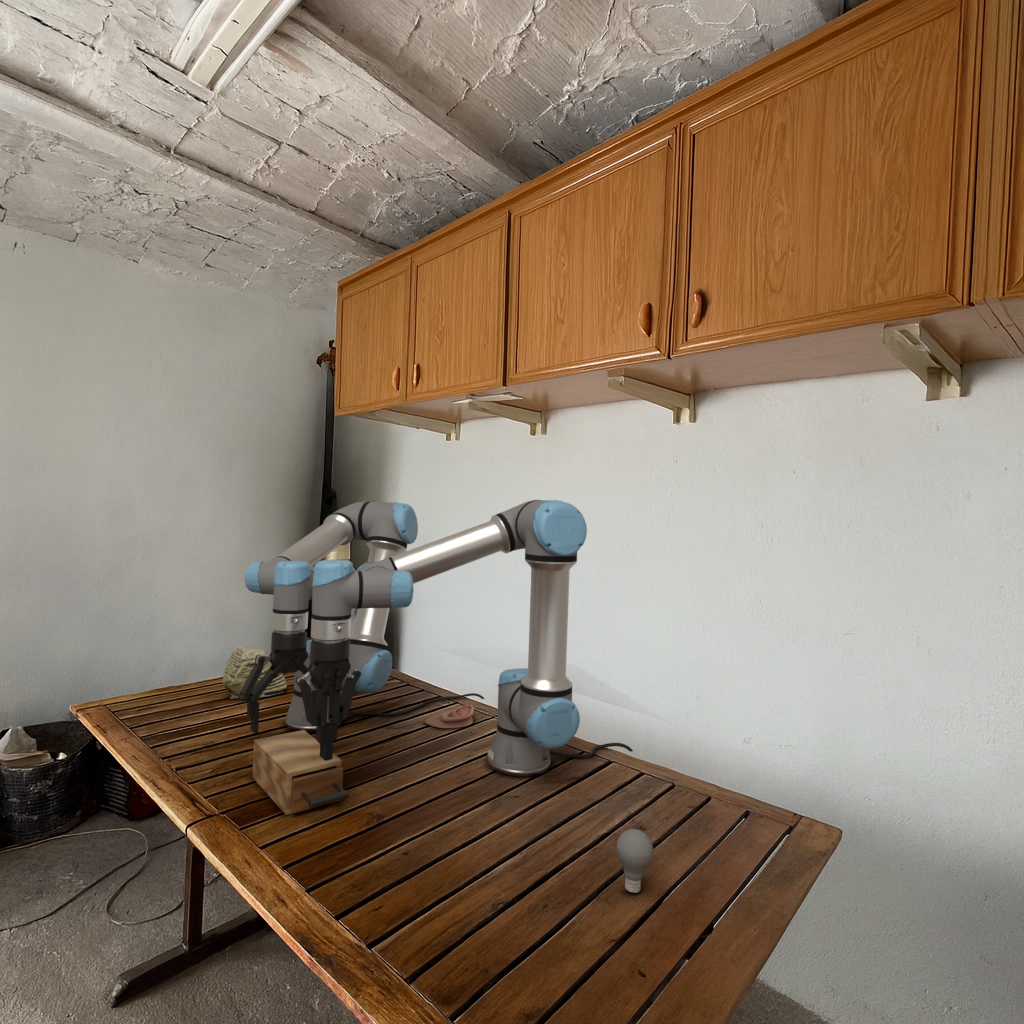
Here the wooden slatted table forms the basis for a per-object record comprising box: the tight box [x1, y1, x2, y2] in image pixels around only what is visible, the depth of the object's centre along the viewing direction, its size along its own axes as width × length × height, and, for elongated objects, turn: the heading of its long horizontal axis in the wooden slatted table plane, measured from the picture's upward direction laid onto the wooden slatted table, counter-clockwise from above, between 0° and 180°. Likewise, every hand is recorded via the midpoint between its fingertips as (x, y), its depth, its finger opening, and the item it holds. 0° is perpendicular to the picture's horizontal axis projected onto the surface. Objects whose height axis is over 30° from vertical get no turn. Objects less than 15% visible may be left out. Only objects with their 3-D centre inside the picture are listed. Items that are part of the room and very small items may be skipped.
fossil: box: [222, 646, 288, 699], centre depth 198 cm, size 9×18×15 cm, turn 132°
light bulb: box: [615, 828, 654, 894], centre depth 106 cm, size 6×6×10 cm
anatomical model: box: [424, 704, 475, 729], centre depth 181 cm, size 13×4×12 cm
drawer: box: [291, 766, 350, 814], centre depth 133 cm, size 25×10×6 cm, turn 40°
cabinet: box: [252, 730, 342, 816], centre depth 137 cm, size 20×11×8 cm, turn 40°
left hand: (285, 725), depth 141 cm, fingers open, 13 cm apart
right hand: (326, 757), depth 125 cm, fingers closed
